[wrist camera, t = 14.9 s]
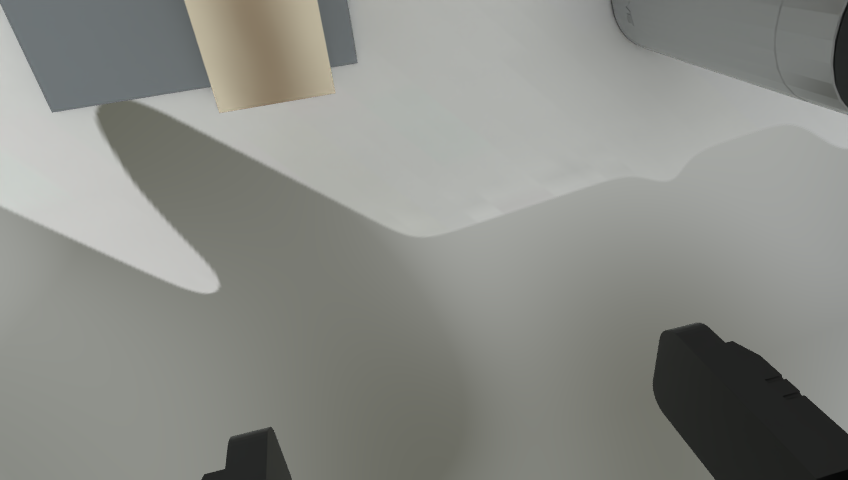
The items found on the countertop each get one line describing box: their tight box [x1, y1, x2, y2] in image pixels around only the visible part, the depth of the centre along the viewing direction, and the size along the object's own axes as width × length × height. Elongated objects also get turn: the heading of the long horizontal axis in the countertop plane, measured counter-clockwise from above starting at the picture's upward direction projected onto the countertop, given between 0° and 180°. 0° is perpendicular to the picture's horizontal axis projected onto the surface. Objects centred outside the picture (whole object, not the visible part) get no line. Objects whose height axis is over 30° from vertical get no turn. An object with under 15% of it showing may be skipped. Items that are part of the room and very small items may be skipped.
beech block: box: [184, 0, 335, 113], centre depth 29 cm, size 6×8×6 cm
